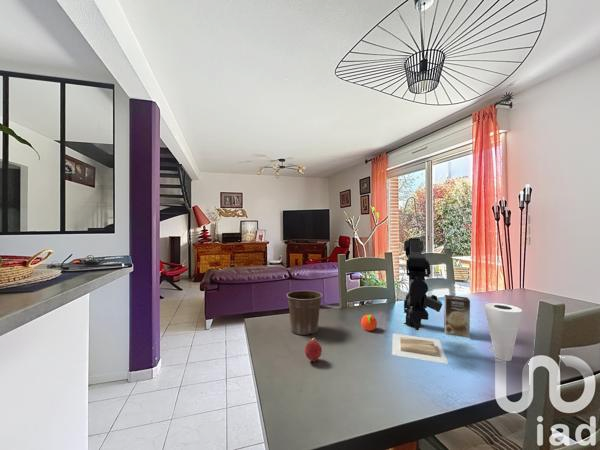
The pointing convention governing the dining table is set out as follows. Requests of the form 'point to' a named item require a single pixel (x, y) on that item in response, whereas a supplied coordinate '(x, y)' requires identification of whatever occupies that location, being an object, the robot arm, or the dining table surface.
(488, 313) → the cup
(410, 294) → the robot arm
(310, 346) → the onion
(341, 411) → the dining table surface
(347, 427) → the dining table surface
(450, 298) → the coffee box
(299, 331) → the plant pot
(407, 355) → the mat
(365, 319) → the clementine
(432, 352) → the tile
